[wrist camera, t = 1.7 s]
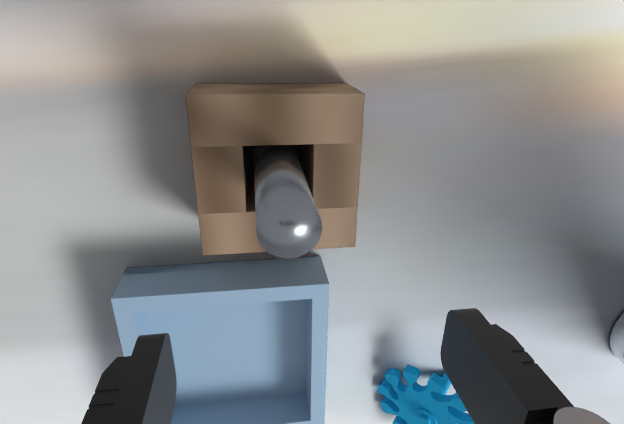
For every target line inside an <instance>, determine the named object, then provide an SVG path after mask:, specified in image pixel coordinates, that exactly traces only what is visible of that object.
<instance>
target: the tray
mask: <svg viewBox="0 0 624 424" xmlns="http://www.w3.org/2000/svg"><path fill="white" fill-rule="evenodd" d="M328 301H329V282H328V279H327V276H326V272H325V269H324V266H323V263H322V260H321V256H315V257H299V258H282V259H266V260H249V261H232V262H216V263H199V264H182V265H166V266H149V267H132V268H126V270H125V272H124V274H123V276H122V278H121V280H120V282H119V284H118V286H117V288H116V290H115V292H114V293H113V295H112V297H111V302H112V307H113V311H114V316H115V320H116V325H117V329H118V334H119V338H120V343H121V347H122V351H123V356H124V357H126V356H131V355H132V352H133V349H134V346H135V343H136V340H137V338H138V336H140V335H149V334H161V333H168V334H169V336H170V340H171V346H172V352H173V359H174V365H175V371H176V379H177V390H176V400H175V405H174V410H173V415H172V421H171V424H324V418H325V389H326V360H327V330H328Z"/></svg>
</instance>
